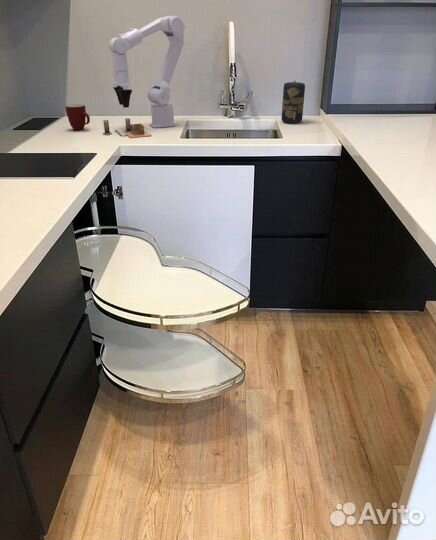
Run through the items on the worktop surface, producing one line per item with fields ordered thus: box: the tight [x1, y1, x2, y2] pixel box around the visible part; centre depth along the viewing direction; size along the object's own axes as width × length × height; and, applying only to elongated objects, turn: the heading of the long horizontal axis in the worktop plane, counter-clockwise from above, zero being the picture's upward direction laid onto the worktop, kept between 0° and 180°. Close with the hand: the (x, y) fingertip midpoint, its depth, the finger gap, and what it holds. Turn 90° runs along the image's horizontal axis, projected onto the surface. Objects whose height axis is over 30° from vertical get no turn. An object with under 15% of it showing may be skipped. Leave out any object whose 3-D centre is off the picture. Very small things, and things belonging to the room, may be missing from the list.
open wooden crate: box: [130, 123, 145, 135], centre depth 188 cm, size 4×4×4 cm
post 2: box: [124, 117, 131, 132], centre depth 192 cm, size 4×4×6 cm
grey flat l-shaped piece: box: [114, 129, 128, 137], centre depth 191 cm, size 4×12×1 cm, turn 22°
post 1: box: [102, 119, 113, 136], centre depth 189 cm, size 4×4×6 cm
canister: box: [281, 80, 306, 124], centre depth 207 cm, size 10×10×18 cm
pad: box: [124, 130, 152, 139], centre depth 189 cm, size 9×9×1 cm
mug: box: [64, 103, 91, 132], centre depth 195 cm, size 10×8×10 cm
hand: (124, 106), depth 192 cm, fingers open, 7 cm apart
